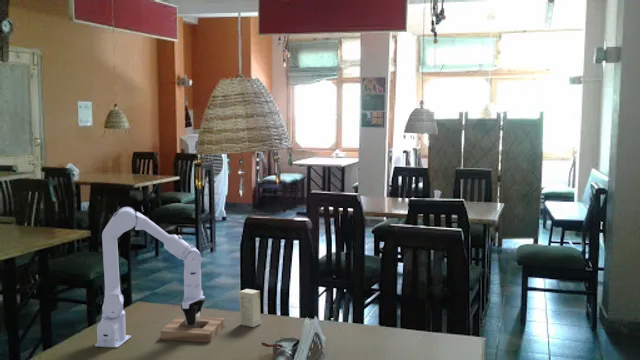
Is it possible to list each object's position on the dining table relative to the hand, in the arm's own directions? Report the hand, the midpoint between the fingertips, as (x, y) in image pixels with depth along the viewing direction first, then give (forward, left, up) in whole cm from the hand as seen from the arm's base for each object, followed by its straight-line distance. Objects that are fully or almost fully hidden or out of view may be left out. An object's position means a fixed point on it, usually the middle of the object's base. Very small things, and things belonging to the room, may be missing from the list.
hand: (193, 322), depth 193 cm
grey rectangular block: (0, 0, -3) cm, 3 cm away
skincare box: (+11, -17, -4) cm, 21 cm away
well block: (0, 0, -4) cm, 4 cm away
